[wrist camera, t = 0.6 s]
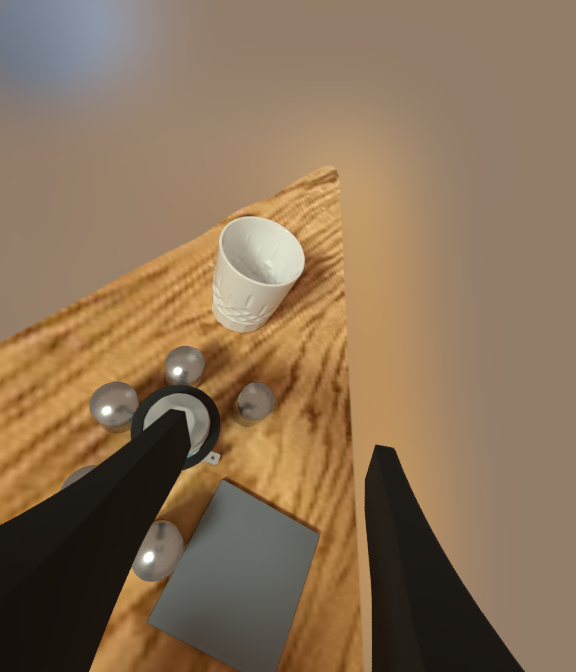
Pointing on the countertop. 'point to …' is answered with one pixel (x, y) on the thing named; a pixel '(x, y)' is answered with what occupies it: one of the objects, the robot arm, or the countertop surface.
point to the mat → (238, 582)
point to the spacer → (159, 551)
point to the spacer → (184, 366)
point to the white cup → (253, 272)
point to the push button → (198, 415)
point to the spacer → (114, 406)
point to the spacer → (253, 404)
